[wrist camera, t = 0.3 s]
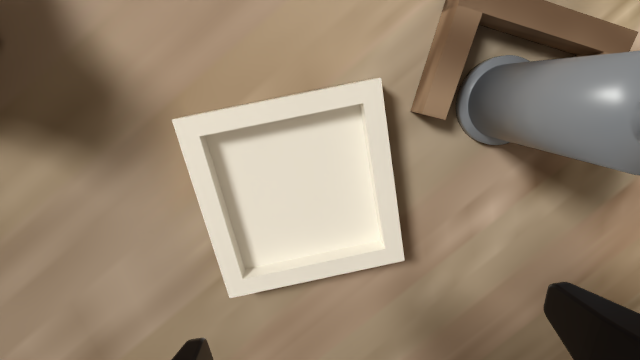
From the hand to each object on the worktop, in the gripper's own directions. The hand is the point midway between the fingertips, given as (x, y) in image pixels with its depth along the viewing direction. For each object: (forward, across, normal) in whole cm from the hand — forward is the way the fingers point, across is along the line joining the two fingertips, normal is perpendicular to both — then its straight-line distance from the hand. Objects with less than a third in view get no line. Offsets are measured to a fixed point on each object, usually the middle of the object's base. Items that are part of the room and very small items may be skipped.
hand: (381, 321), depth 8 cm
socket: (+15, -12, -3) cm, 19 cm away
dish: (+14, +2, +2) cm, 14 cm away
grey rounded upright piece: (+14, -12, -2) cm, 19 cm away
